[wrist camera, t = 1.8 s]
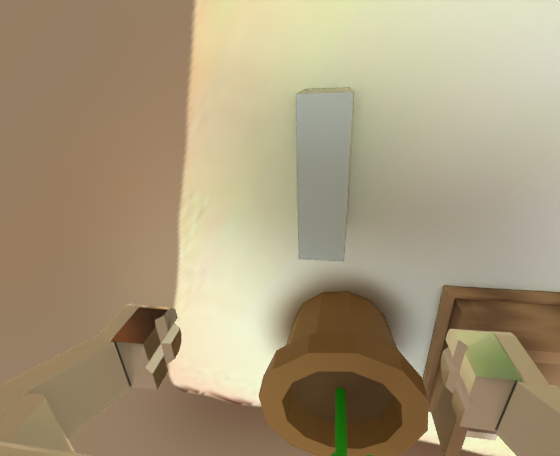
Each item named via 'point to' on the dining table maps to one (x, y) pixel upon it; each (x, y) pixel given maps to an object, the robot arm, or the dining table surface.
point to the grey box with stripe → (323, 171)
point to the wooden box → (489, 317)
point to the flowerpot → (343, 383)
